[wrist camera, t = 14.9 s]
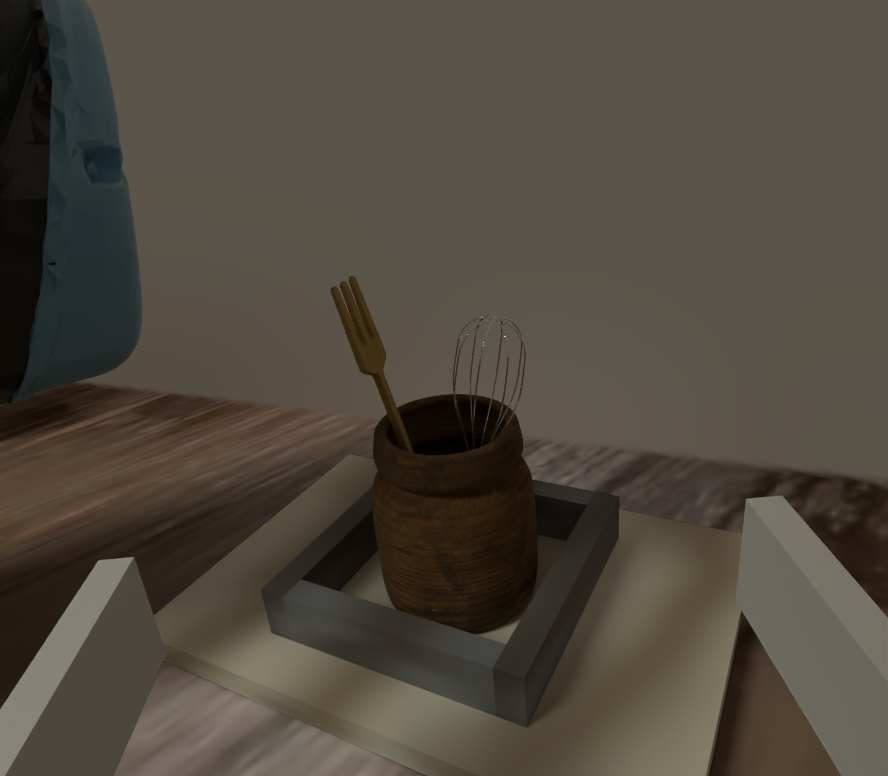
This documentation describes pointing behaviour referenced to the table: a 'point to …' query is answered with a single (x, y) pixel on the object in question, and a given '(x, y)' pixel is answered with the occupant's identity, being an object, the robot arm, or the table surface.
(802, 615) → the robot arm
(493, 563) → the utensil holder
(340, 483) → the collar board
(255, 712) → the table surface
